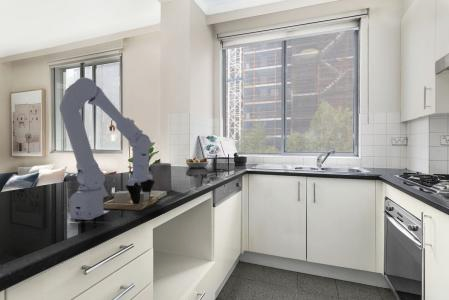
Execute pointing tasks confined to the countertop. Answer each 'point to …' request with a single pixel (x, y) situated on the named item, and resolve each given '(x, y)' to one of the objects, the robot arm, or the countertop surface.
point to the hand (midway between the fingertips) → (141, 201)
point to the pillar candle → (161, 176)
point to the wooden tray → (130, 204)
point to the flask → (104, 192)
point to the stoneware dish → (158, 193)
